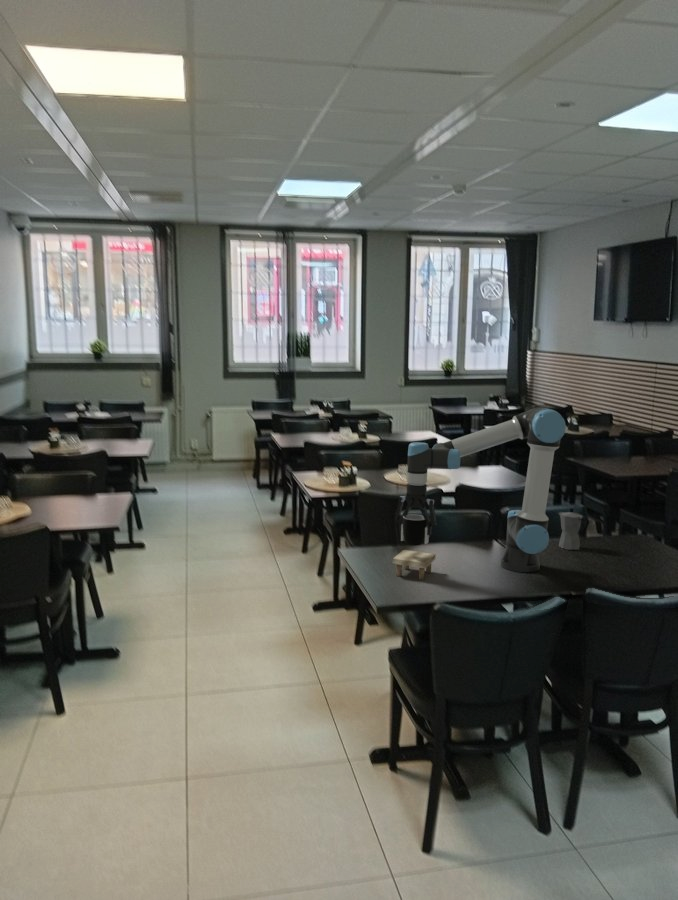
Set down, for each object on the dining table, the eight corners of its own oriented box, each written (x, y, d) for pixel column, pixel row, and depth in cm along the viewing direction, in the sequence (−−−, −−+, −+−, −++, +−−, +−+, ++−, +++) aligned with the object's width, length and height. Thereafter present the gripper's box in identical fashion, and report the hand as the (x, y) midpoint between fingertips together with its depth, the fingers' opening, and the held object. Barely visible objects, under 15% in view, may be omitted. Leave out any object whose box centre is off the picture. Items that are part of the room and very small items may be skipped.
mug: (428, 546, 265) (429, 520, 263) (405, 546, 263) (406, 520, 262) (419, 537, 276) (420, 512, 275) (397, 537, 275) (398, 512, 273)
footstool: (434, 571, 275) (435, 554, 274) (425, 581, 263) (425, 563, 262) (403, 567, 280) (403, 549, 279) (392, 576, 268) (392, 558, 267)
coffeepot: (550, 546, 313) (552, 506, 311) (562, 543, 319) (565, 504, 316) (580, 554, 301) (583, 513, 298) (593, 551, 307) (596, 510, 304)
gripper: (447, 484, 265) (444, 542, 269) (393, 479, 274) (391, 535, 277) (441, 488, 259) (439, 547, 262) (386, 482, 267) (384, 540, 270)
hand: (414, 541), depth 269 cm, fingers closed on mug, 9 cm apart
